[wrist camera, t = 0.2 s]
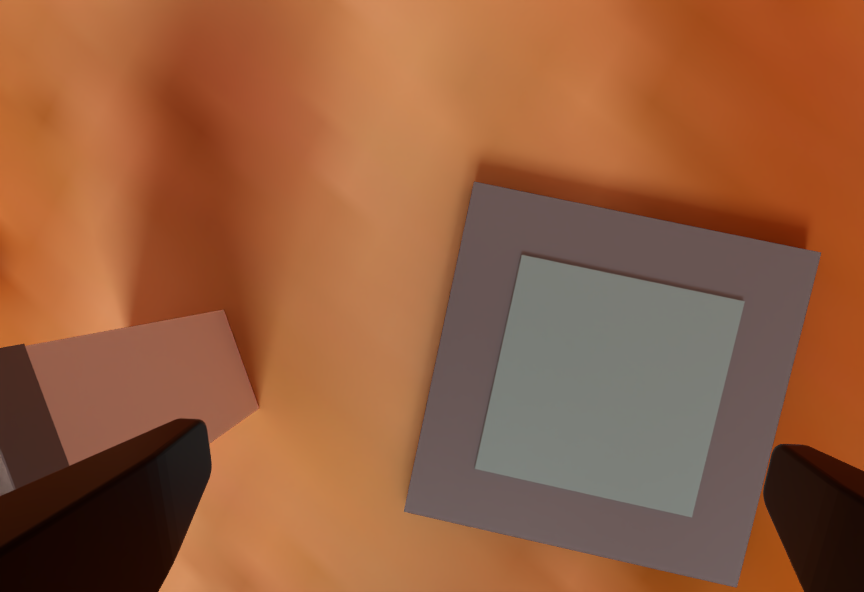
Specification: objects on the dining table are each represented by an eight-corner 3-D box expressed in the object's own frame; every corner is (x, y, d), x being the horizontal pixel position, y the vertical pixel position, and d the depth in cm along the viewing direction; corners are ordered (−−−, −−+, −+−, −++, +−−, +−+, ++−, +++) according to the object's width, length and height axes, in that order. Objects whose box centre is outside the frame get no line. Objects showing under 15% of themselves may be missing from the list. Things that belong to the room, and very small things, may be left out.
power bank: (260, 408, 25) (43, 564, 12) (162, 441, 25) (-153, 628, 12) (224, 308, 25) (-36, 354, 12) (126, 342, 25) (-232, 424, 12)
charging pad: (725, 574, 24) (738, 589, 23) (406, 501, 25) (403, 513, 24) (805, 253, 23) (823, 252, 22) (473, 185, 24) (474, 181, 23)
